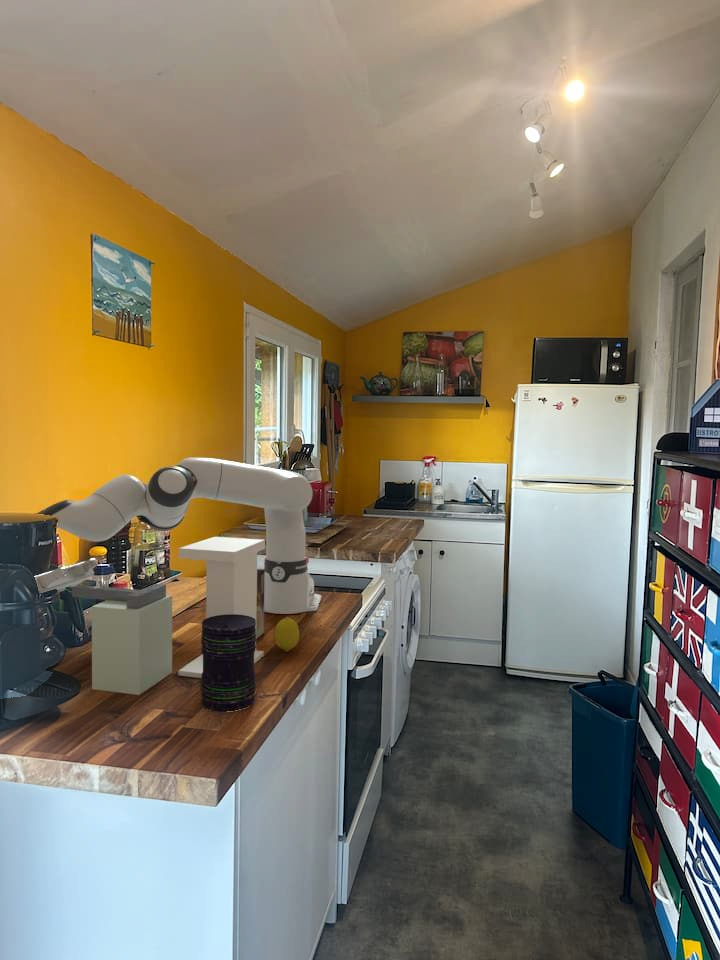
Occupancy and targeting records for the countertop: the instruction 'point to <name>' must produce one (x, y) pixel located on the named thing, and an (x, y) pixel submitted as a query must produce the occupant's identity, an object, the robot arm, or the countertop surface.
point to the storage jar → (228, 662)
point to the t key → (122, 594)
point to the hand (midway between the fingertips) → (80, 565)
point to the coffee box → (260, 603)
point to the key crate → (131, 645)
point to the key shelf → (226, 582)
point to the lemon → (287, 634)
